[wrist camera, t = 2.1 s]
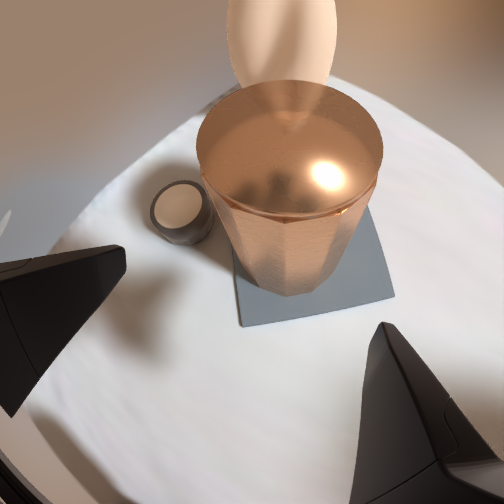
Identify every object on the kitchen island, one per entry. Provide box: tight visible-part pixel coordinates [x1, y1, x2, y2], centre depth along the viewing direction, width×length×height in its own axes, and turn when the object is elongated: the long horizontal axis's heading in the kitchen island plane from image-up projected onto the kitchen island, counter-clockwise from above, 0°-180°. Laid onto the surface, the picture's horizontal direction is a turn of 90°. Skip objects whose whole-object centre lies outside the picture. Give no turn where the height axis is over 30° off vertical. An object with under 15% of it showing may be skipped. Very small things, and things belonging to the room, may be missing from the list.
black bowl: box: [150, 180, 214, 246], centre depth 23 cm, size 5×5×3 cm
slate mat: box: [231, 205, 395, 327], centre depth 22 cm, size 12×10×1 cm
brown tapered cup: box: [196, 80, 383, 297], centre depth 16 cm, size 8×8×13 cm
